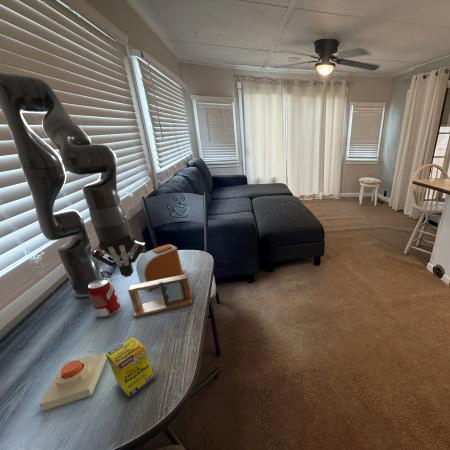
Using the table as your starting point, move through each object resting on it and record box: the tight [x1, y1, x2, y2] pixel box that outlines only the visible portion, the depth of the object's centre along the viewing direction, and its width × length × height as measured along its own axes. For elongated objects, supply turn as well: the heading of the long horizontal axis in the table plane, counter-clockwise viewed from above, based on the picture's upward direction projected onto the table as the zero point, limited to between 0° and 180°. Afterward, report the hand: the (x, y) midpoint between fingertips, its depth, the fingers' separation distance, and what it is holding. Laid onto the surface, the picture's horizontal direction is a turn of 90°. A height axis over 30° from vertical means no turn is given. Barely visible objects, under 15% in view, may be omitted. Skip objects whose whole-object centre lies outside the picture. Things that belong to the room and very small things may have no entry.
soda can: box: [88, 277, 121, 318], centre depth 82 cm, size 7×7×12 cm
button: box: [60, 359, 83, 378], centre depth 59 cm, size 4×4×2 cm
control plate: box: [39, 351, 108, 411], centre depth 59 cm, size 11×9×4 cm
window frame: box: [127, 273, 193, 318], centre depth 85 cm, size 6×18×10 cm, turn 112°
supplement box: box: [105, 336, 155, 399], centre depth 58 cm, size 6×6×11 cm
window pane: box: [159, 281, 186, 306], centre depth 84 cm, size 5×7×11 cm
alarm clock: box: [135, 243, 184, 291], centre depth 101 cm, size 15×8×14 cm, turn 144°
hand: (128, 275), depth 71 cm, fingers closed
